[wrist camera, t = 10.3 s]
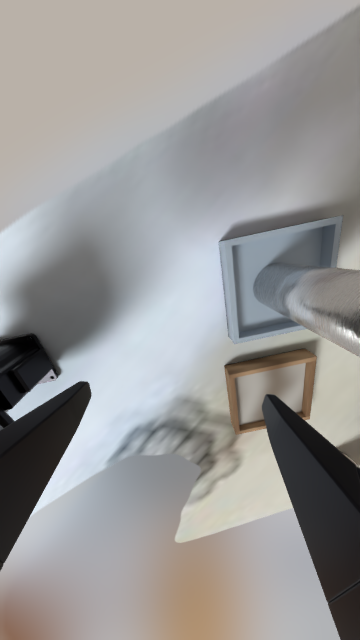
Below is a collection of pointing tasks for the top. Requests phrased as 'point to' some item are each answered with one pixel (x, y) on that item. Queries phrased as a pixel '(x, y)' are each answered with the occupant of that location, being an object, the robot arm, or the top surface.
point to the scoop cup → (315, 299)
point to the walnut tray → (269, 386)
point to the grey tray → (260, 251)
